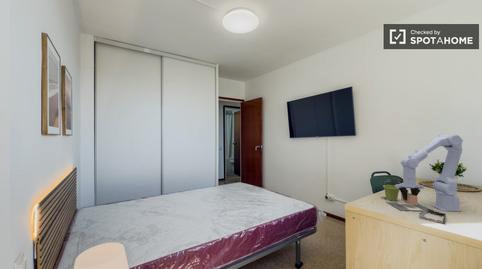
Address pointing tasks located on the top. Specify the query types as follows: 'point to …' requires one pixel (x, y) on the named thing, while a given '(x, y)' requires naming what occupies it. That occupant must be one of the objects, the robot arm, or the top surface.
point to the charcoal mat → (407, 206)
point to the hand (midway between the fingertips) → (409, 200)
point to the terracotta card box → (410, 199)
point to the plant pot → (391, 192)
